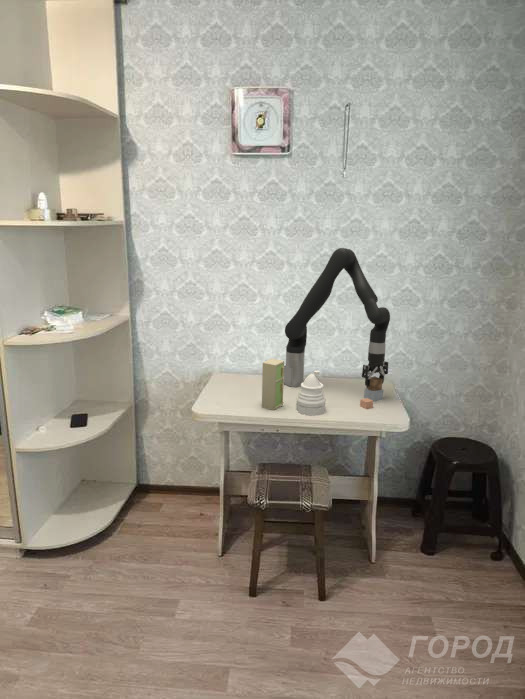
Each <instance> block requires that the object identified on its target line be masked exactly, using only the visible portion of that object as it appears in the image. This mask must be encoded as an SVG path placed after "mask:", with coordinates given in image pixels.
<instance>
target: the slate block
mask: <svg viewBox="0 0 525 699" xmlns="http://www.w3.org/2000/svg"><path fill="white" fill-rule="evenodd" d="M363 398H368V399H370V400H373V402H374V403H377V402H376V401H378V402H381V401H380V400H382V399H383V400H384V389H383V388H382V390H377V391H372V390H369V389H367V388H366V387H364V393H363ZM383 400H382V401H383Z"/></svg>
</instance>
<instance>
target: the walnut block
mask: <svg viewBox="0 0 525 699" xmlns="http://www.w3.org/2000/svg"><path fill="white" fill-rule="evenodd" d="M382 380H383V379H380V378H379V376H371V378H370V387H367V386H366V385H365V388H367V389H369V390H372V391H377V390H382V389H383V384H382Z"/></svg>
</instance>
